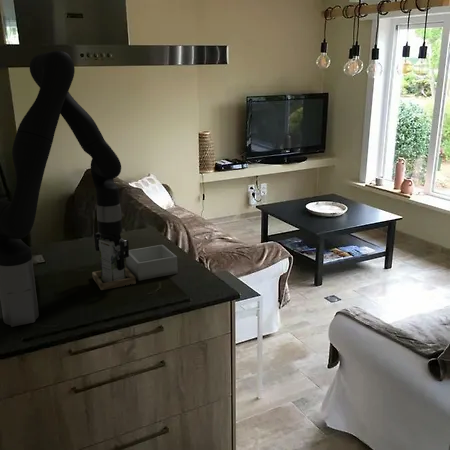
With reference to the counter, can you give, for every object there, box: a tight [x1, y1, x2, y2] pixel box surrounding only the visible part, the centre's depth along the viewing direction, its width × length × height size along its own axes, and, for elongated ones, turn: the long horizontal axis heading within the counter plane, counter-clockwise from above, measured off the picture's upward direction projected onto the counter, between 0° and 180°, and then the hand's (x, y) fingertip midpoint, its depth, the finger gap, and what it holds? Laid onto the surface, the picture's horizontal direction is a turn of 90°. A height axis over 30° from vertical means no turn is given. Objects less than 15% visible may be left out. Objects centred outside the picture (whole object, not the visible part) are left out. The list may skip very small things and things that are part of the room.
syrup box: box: [98, 238, 127, 283], centre depth 167 cm, size 6×6×14 cm
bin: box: [125, 244, 179, 281], centre depth 177 cm, size 14×14×6 cm
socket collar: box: [91, 266, 137, 291], centre depth 169 cm, size 11×11×2 cm
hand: (112, 266), depth 168 cm, fingers open, 7 cm apart
